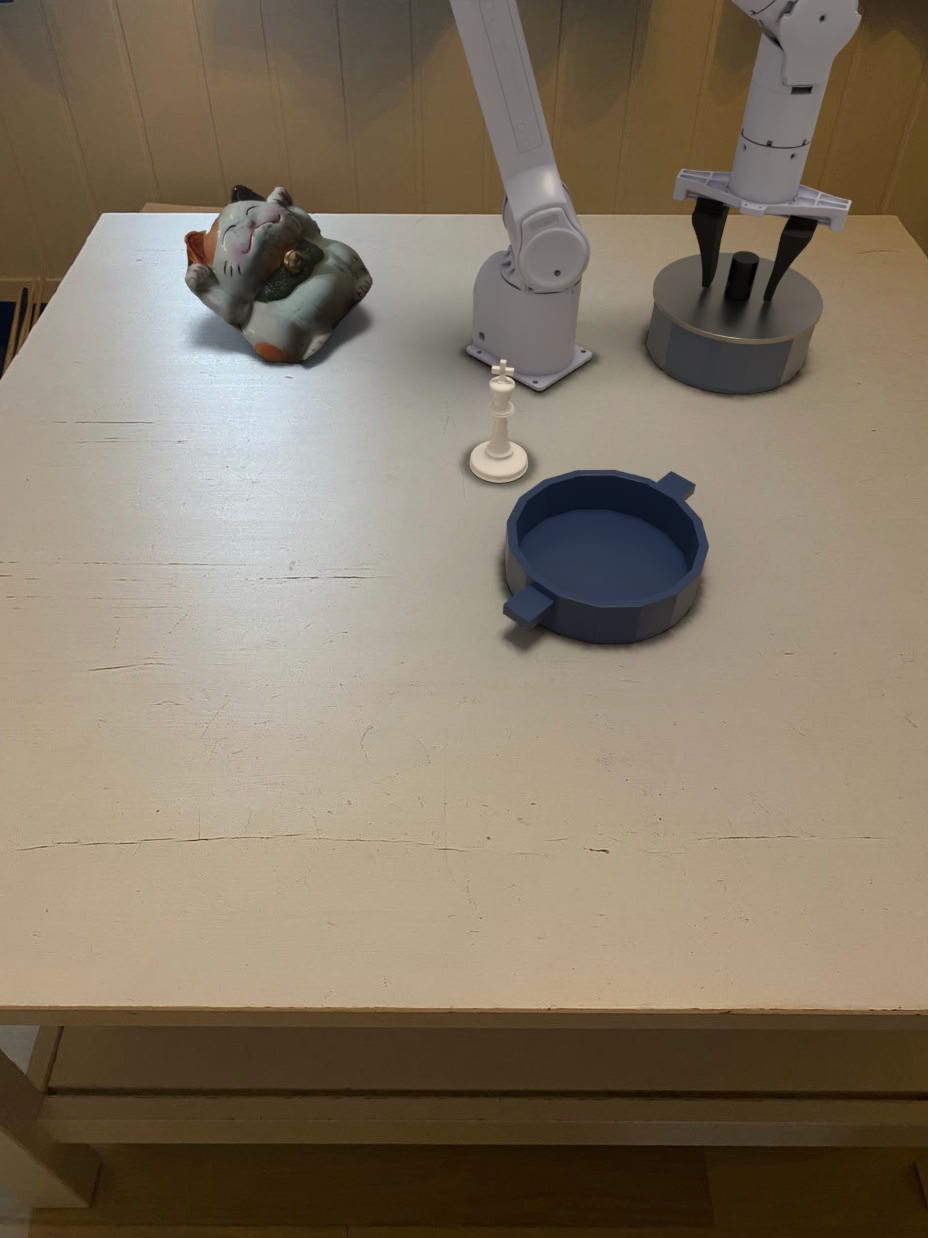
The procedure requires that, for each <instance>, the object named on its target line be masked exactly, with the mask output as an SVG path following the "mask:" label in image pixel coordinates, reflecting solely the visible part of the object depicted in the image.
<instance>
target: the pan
mask: <svg viewBox="0 0 928 1238" xmlns="http://www.w3.org/2000/svg"><path fill="white" fill-rule="evenodd" d="M696 486H697V484H696V483H694V482H692V481H691V480H688V479H687V478H685V477H683V476H682V475H680V474H677V473H676V472H674V471H672V470H670V471H669V472H668V473H666V474H665V475H664V476H663V477H662V478H660V479H659V480H657V481H655V480H653V479H651V478H649V477H646V476H643V475H637V474H634V473H629V472H625V471H621V470H618V469H575V470H573V471H570V472H566V473H562V474H558V475H555V476H552V477H548V478H544V479H543V480H541V481H540V482H539V483H537V484H536V485H534V486H533V487H531V488H530V489H528V490H527V491H526V492H524V493H523V494H522V495H520V496H519V497H518V499H517V501H516V503H515V504H514V506H513V507H512V508H513V509H512V510H511V512H510V514H509V516H508V518H507V521H506V524H505V525H506V527H505V544H504V563H505V578H506V583H507V586H508V588H509V591H510V592H511V594H512V597H510V598H509V599H508V600H507V601H505V602H504V603H503V604H502V605H503V606H502V614H503V615H504V616H506V617H507V618H509V619H510V620H511V621H513V622H514V623H515V624H517V625H519V626H520V627H521V628H523V629H524V630H525V631H527V632H529V631H531V630H532V629H533V628H535V626H538V624H540V625H542V626H544V627H546V628H548V629H549V630H551V631H554V632H556V633H558V634H559V635H561V636H562V635H563V636H565V637H568V638H571V639H575V640H578V641H583V642H588V643H595V644H608V645H609V644H611V645H615V644H627V643H634V642H639V641H643V640H647V639H649V638H652V637H655V636H657V635H659V634H661V633H663V632H665V631H667V630H668V629H670V628H672V627H673V626H674V625H675V624H677V623H678V622H679V621H680V620H681V619H682V618H683V617H684V616H685V615H686V614H687V613H688V612H689V610H690V608H691V607H692V606H693V603H694V601H695V597H696V594H697V592H698V591H697V590H698V587H699V584H700V581H701V578H702V573H703V571H704V567H705V563H706V559H707V556H708V553H709V548H710V545H709V541H708V536H707V534H706V530H705V526H704V523H703V519H702V518H701V517H700V516H699V515H698V514H697V513H696V511H695V510H694V509H693V508H692V507H691V506H690V505H689V504H688V502H687V500H688V499H689V498H691V496H693V495H694V493H695V490H696Z"/></svg>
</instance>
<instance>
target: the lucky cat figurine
mask: <svg viewBox="0 0 928 1238" xmlns="http://www.w3.org/2000/svg"><path fill="white" fill-rule="evenodd" d="M321 232H322V231H321V229H320V227H319V225H318V223H317V220H315V219H313V218H312V217H311V215H310V214H309V213H308V212H307V211H305V210H304V209H303V208H301V207H300V206H298V205H296V204H295V202H294V200H293V198H292V195H291V194H290V193H289V191H288V190H287V189H286V188H285V187H282V186H276V187H274V190H273V191H272V192H271V193H270V194H269V195H268V196H267V197H264V196H263V195H261V194H258V193H256V192H255V191H253V189H251V188H249V187H247V186H246V185H243V184H236V185H234V186H232V187H231V191H230V197H229V198H228V203H227V205H226V206H224V207H223V208H222V209H221V211H220V212H219V213H218V215H217V217H216V218H215V219H214V221H213V223H212V224H211V227H210V229H209V231H208V232H207V229H204V230H200V231H197V230H191V231H189V232H187V234H185V235H184V239H183V242H184V243H185V245H186V257H187V268H186V272H185V275H184V282H185V284H186V286H187V288H188V289H189V291H190V292H191V293H192V294H193V295H195V296H196V297H197V298H198V299H199V301H201V303H202V304H203V305H204V306H206V307H207V308H208V309H209V310H211V311H212V312H213V313H215V314H216V315H217V316H218V317H219V318H220V319H222V320H223V321H224V323H227V324H228V325H229V326H230V327H232V328H233V329H235V330H236V331H237V332H238V333H239V334H240V335H241V336H243V338H244V339H246V341H248V342H249V343H250V344H251V346H252V348H253V351H254V352H255V353H256V354H257V355H259V356H260V357H261V358H263V359H264V360H266V361H268V362H276V363H292V364H298V363H300V362H301V360H303V361H306V360H307V359H308V358H309V357H310V356H312V355H313V354H315V353H317V352H318V351H319V350H320V349H322V347H324V345H325V343H327V341H328V340H329V338H330V336H331V335H332V333H333V332H334V331H335V330H336V329H337V328H338V326H339V325H340V324H341V323H342V322H343V321H344V319H345V318H346V317H348V315H350V313H351V312H352V311H353V310H355V308H356V307H357V306H358V305H359V304H360V303H361V302H362V301H363V300H364V299H365V298H366V297H367V294H368V293H369V292H370V290H371V288H372V286H373V284H374V279H373V277H372V275H371V273H370V271H369V269H368V268H367V266H366V265H365V263H364V261H363V260H362V258H361V256H360V255H359V253H358V252H357V251H356V250H355V249H354V248H353V247H351V245H348V244H346V243H345V242H342V241H339V240H336V239H332V238H327V237H324V236H323V235H322V233H321Z"/></svg>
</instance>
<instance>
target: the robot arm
mask: <svg viewBox="0 0 928 1238" xmlns="http://www.w3.org/2000/svg"><path fill="white" fill-rule="evenodd" d="M730 1H731V2H732V3H734V4H735V5H736V6H737V7H738V8H739V9H740V10H742V11H743V12H744V13H745V14H746V15H747V16H749V17H750V18H751V19H754V20H756V21H757V23H758V25H759V27H760V28H764V29H766V30H767V31H768V32H767V31H766V30H763V31H762V32H761V36H760V40H759V45H758V48H757V49H758V50H757V52H756V53H757V54H756V58H755V63H754V67H753V69H752V75H751V79H750V85H749V88H748V94H747V98H746V103H745V106H744V110H743V111H744V113H743V117H742V121H741V126H740V129H739V134H738V138H737V144H736V147H735V152H734V157H733V162H732V166H731V171H713V170H695V169H689V168H681V170H679V173H678V174H677V175H676V177H675V182H674V188H673V194H672V200H674V201H680V202H684V201H686V200H687V199H688V200H693V201H696V202H695V206H694V210H693V211H692V213H691V225H692V228H693V230H694V233H695V236H696V241H697V244H698V248H699V254H701V262H702V287H705V288H709V287H710V285H711V283H712V281H713V279H714V277H715V273H716V269H717V264H718V258H719V253H720V250H721V244H722V239H723V235H724V231H725V227H726V223H727V219H728V216H729V212H730V208H734V209H739V210H738V212H739V214H740V215H745V216H748V217H754V218H763V217H764V216H766V215H767V216H773V217H778V218H783V219H787V220H786V223H785V225H784V227H783V229H782V230H781V233H780V237H779V241H778V246H777V250H776V254H775V259H774V261H775V263H774V267H773V270H772V273H771V276H770V279H769V281H768V284H767V287H766V290H765V293H764V297H763V300H764V301H768V302H770V301H771V300H772V297H773V295H774V293H775V290H776V287H777V285H778V283H779V282H780V280H781V278H782V277H783V275H784V274H785V272H786V271H787V269H788V268H789V267H790V266H791V265H792V264H793V262H794V261H795V260H796V259H797V257H798V256H799V255H800V254H801V253H802V252H803V251H804V250H805V249H806V248H807V246H808V245H809V244H810V242H811V241H812V239H813V237H814V235H815V232H816V229H817V227H818V226H819V225H820V226H824V227H828V230H829V231H831V232H836V233H842V231H843V229H844V226H845V224H846V222H847V221H846V220H847V218H848V214H849V211H850V208H851V205H852V200H851V199H846V198H842V197H838V196H835V195H831V194H828V193H825V192H823V191H820V190H817V189H815V188H812V187H809V186H806V185H803V184H801V180H802V177H803V173H804V170H805V166H806V163H807V159H808V155H809V151H810V147H811V144H812V140H813V137H814V133H815V130H816V126H817V122H818V118H819V115H820V111H821V107H822V103H823V100H824V96H825V92H826V89H827V85H828V82H829V79H830V74H831V70H832V67H833V64H834V62H835V61H834V60H835V59H836V57H837V56H838V54H839V53H840V52H841V50H843V48H844V47H846V45H847V44H848V43H849V42H850V41H851V40H852V38H853V36H854V35H855V33H856V32H857V30H858V28H859V25H860V23H861V20H862V15H861V14H859V12H858V8H859V0H730ZM449 4H450V7H451V10H452V14H453V18H454V21H455V24H456V27H457V31H458V34H459V37H460V41H461V44H462V48H463V51H464V55H465V58H466V61H467V65H468V68H469V72H470V75H471V79H472V83H473V85H474V89H475V92H476V95H477V99H478V102H479V106H480V110H481V112H482V116H483V120H484V123H485V126H486V131H487V133H488V136H489V140H490V143H491V146H492V150H493V154H494V157H495V160H496V164H497V166H498V167H497V168H498V171H499V174H500V178H501V181H502V184H503V191H504V193H503V200H502V205H501V220H502V223H503V226H504V228H505V229H506V232H507V235H508V239H509V242H510V244H509V245H508V247H507V249H506V250H497V251H496V252H494V253H492V254H491V255H489V257H488V258H487V259H486V260H485V261H484V262H483V263H482V265H481V266H480V268H479V270H478V272H477V274H476V277H475V282H474V285H473V291H472V338H471V339H472V343H471V344H469V345H468V346H466V353H467V354H468V355H470V356H472V357H474V358H476V359H478V360H480V361H481V362H483V363H485V364H487V365H489V366H490V367H492V366H500V361H501V359H502V360H507V362H506V367H509V368H514V375H513V376H510V378H512V379H515V380H517V382H519V383H522V384H524V385H526V386H528V387H530V388H531V389H533V390H535V391H538V392H541V391H544V390H546V389H547V388H549V387H551V385H553V384H555V383H556V382H558V381H560V380H561V379H563V378H564V377H565V376H567V375H569V374H570V373H572V372H573V371H574V370H576V369H577V368H579V367H581V366H582V365H584V364H585V363H587V362H588V361H591V359H592V358H593V352H592V351H590V350H589V349H586V348H585V347H582V346H581V345H579V344H576V337H577V328H578V318H579V307H580V300H581V299H580V298H581V289H582V281H583V275H584V273H585V272H586V271H587V268H588V266H589V264H590V259H591V244H590V240H589V238H588V236H587V233H586V231H585V230H583V228H582V224H581V223H580V220H579V217H578V214H577V212H576V210H575V207H574V203H573V198H572V194H571V191H570V190H569V188H568V186H567V185H566V184H565V182H564V181H562V179H561V177H560V173H559V170H558V167H557V162H556V159H555V155H554V151H553V147H552V142H551V139H550V135H549V131H548V127H547V122H546V118H545V115H544V110H543V106H542V102H541V98H540V95H539V89H538V86H537V81H536V78H535V73H534V70H533V66H532V61H531V58H530V54H529V49H528V46H527V42H526V37H525V33H524V29H523V25H522V21H521V17H520V12H519V9H518V5H517V1H516V0H449ZM769 33H770V34H769Z"/></svg>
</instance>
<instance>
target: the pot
mask: <svg viewBox="0 0 928 1238" xmlns="http://www.w3.org/2000/svg"><path fill="white" fill-rule="evenodd" d="M815 328H816V325H815V326H814V327H813V328H812V329H810V330H809V331H808V332H806V333H804V334H803V335H801V336H798V337H796V338H793V339H790V340H787V341H783V342H777V343H770V344H738V343H730V342H724V341H719V340H714V339H711V338H707V337H704V336H701V335H698V334H695V333H693V332H691V331H688V330H686V329H684V328H682V327H681V326H679V325H677V324H676V323H674V322H673V321H671V320H670V319H669V318H667V317H666V316H665V315H664V314H663V313H662V312H661V311H660V309H659V308H658V307H657V305H656V303H655V301H653V305H652V312H651V318H650V323H649V328H648V334H647V340H646V345H645V346H646V348H647V351H648V353H649V355H650V357H651V359H652V360H653V361H654V363H655V364H656V365H657V367H659V368H660V369H661V370H662V371H663V372H665V373H666V374H668V375H669V376H671V377H672V378H674V379H675V380H677V381H679V382H682V383H684V384H686V385H688V386H691V387H694V388H696V389H701V390H705V391H708V392H714V393H719V394H728V395H729V394H731V395H744V394H745V395H747V394H749V395H750V394H755V393H762V392H766V391H770V390H773V389H776V388H778V387H780V386H783V385H784V384H786V383H788V382H789V381H791V379H792V378H794V377H795V375H796V374H797V373H798V371H799V370H800V369H802V368H803V365H804V362H805V359H806V356H807V353H808V350H809V347H810V344H811V340H812V337H813V334H814V331H815Z"/></svg>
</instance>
